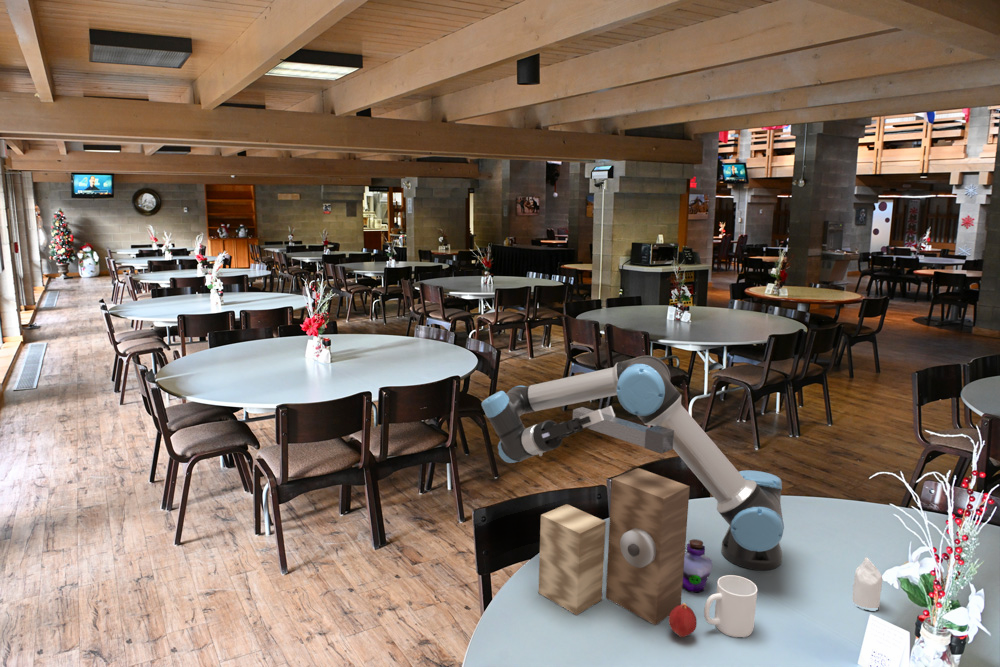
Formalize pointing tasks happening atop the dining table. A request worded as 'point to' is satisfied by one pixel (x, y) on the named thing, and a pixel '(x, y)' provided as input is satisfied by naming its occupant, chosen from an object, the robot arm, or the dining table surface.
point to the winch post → (647, 543)
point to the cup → (733, 606)
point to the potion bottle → (696, 567)
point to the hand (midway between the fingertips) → (606, 413)
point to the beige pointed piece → (867, 585)
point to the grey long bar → (631, 431)
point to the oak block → (571, 558)
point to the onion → (682, 620)
